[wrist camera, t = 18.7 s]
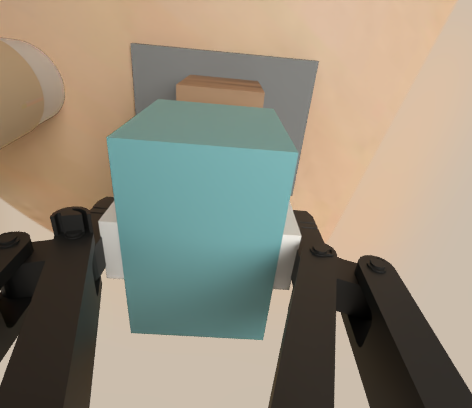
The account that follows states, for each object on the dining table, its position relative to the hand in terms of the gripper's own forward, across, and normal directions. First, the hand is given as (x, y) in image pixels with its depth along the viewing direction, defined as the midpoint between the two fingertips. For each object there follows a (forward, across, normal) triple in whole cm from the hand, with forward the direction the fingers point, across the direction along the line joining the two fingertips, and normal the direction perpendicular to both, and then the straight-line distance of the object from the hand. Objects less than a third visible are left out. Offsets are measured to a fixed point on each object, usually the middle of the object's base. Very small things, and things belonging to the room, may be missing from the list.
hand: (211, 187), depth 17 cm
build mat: (+14, 0, 0) cm, 14 cm away
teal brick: (0, 0, 0) cm, 0 cm away
